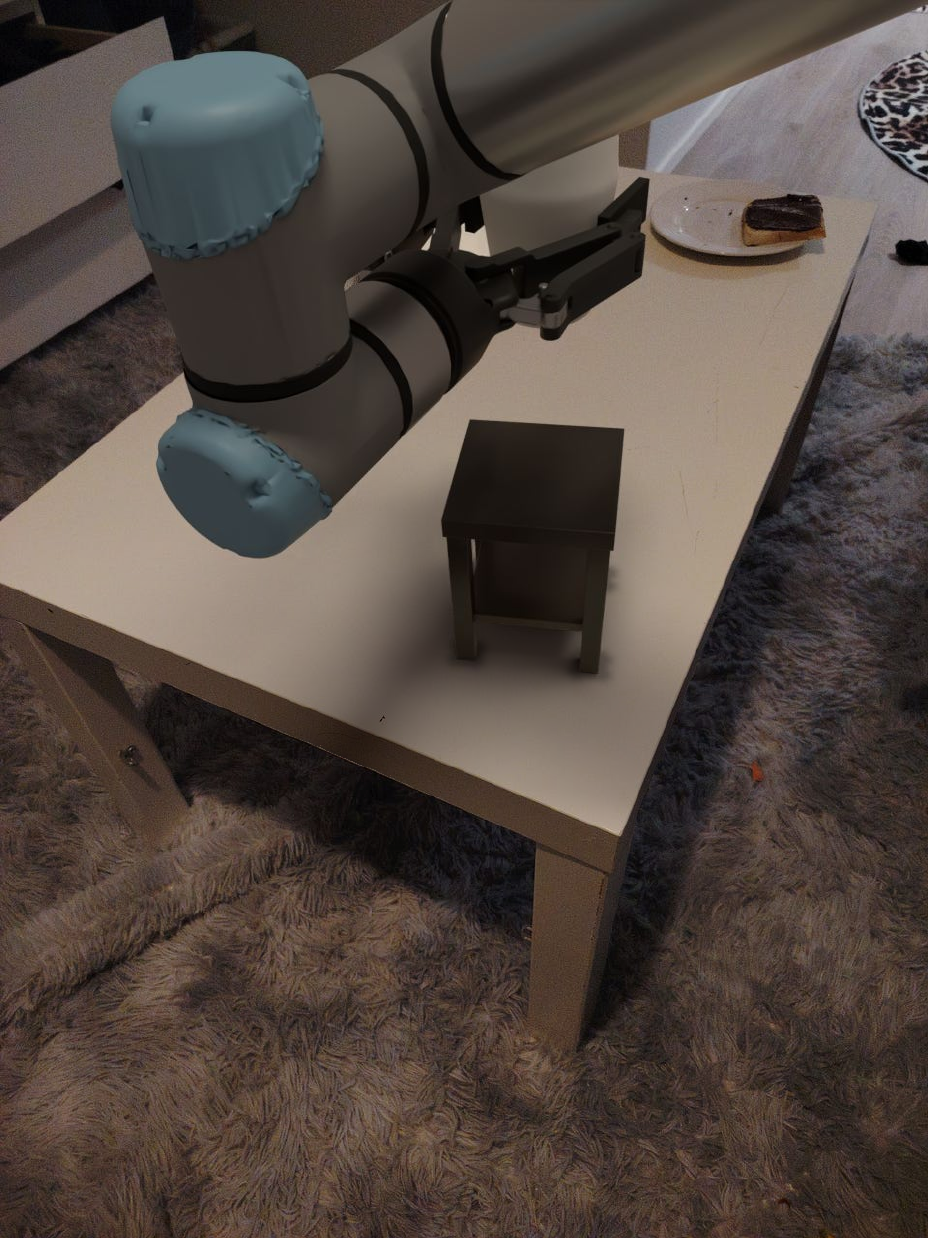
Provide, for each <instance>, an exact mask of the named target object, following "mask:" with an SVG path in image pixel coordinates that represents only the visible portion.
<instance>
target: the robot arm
mask: <svg viewBox="0 0 928 1238" xmlns="http://www.w3.org/2000/svg"><path fill="white" fill-rule="evenodd" d="M924 6H928V0H449V1H447V2H445V3H443V4H441V5H440V6H438V7H437V8H435V9H434V10H431V12H429V13H427V14H426V15H424V16H422V18H419V19H418V20H417V21H415V22H414V23H412V24H411V25H409V26H408V27H406V28H405V29H403V30H402V31H400V32H398V33H397V34H396V35H394V36H392V37H391V38H388V39H387V40H385V41H384V42H381V43H380V44H378V45H377V46H375V47H373V48H370V49H369V50H367V51H366V52H363V53H361V54H359V55H358V56H356V57H354V58H352V59H350V60H348V61H347V62H345V63H343V64H340V65H339V66H337V67H335V68H334V69H331V70H328V71H325V72H322V73H321V74H318V75H316V76H314V77H311V78H309V79H307V78H306V76H305V75H304V73H303V72H302V70H301V69H300V68H299V67H298V66H296V65H295V64H293V63H292V61H290V60H288V59H286V58H284V57H280V56H277V55H274V54H270V53H263V52H259V51H249V50H248V51H247V50H234V51H233V50H232V51H231V50H230V51H229V50H228V51H227V50H225V51H215V52H205V53H200V54H195V55H193V56H192V57H190V58H186V59H180V60H179V59H178V60H169V61H165V62H162V63H161V62H160V63H158V64H156V65H153V66H151V67H149V68H146V69H144V70H142V71H140V72H139V73H138V74H136V75H135V76H133V77H131V78H129V79H128V80H127V81H126V82H125V83H124V84H123V85H122V86H121V88H120V89H119V90H118V91H117V93H116V95H115V96H114V98H113V101H112V104H111V109H110V115H109V116H110V117H109V120H110V130H111V133H112V138H113V142H114V143H113V144H114V148H115V151H116V156H117V158H116V162H117V165H118V168H119V172H120V175H121V180H122V184H123V189H124V191H125V196H126V199H127V204H128V209H129V214H130V219H131V224H132V226H133V228H134V230H135V232H136V234H137V237H138V239H139V240H140V241H141V243H142V246H143V249H144V252H145V255H146V257H147V259H148V263H149V265H150V268H151V270H152V271H151V272H152V273H153V277H154V279H155V282H156V285H157V288H158V291H159V293H160V297H161V299H162V301H163V304H164V307H165V311H166V313H167V316H168V318H169V321H170V325H171V328H172V330H173V333H174V335H175V338H176V341H177V344H178V347H179V350H180V359H181V363H182V372H183V378H184V380H185V384H186V387H187V390H188V393H189V395H190V399H191V401H192V406H191V407H190V408H189V409H186V410H184V411H182V412H181V413H180V414H177V416H176V420H175V422H174V423H173V424H172V425H171V426H169V427H168V428H167V429H166V430H165V431H164V432H163V433H162V435H161V437H160V438H159V440H158V443H157V457H156V461H155V466H156V472H157V476H158V479H159V481H160V483H161V485H162V488H163V489H164V492H165V495H167V497H168V499H169V500H170V502H171V503H172V505H173V506H174V508H175V509H176V510H177V512H178V513H179V514H180V516H181V517H182V518H183V519H184V520H185V521H186V522H187V523H188V524H189V525H190V526H191V528H193V529H194V530H195V531H196V532H197V533H198V534H199V535H201V536H202V537H203V538H205V539H206V540H208V541H209V542H211V543H212V544H213V545H215V546H217V547H219V548H220V549H222V550H228V551H230V552H231V553H234V554H236V555H238V556H239V557H242V558H247V559H249V558H250V559H256V560H257V559H259V560H260V559H261V560H262V559H268V558H269V559H270V558H272V557H275V556H277V555H279V554H281V553H282V552H285V551H286V550H287V549H288V548H289V547H290V546H292V545H293V544H294V543H295V542H297V540H299V539H300V538H301V537H302V536H303V535H305V534H306V533H307V532H308V531H310V530H311V529H313V528H314V527H315V526H316V525H317V524H318V523H319V522H321V521H324V520H325V519H326V520H327V518H329V516H330V515H331V514H332V513H333V509H334V507H336V506H337V505H338V504H339V502H340V501H341V500H342V499H343V498H344V497H345V496H346V495H347V494H348V493H350V491H351V490H352V489H353V488H354V487H355V486H356V485H357V484H358V483H359V482H360V481H361V480H362V479H363V478H364V477H365V476H367V474H368V473H369V472H370V471H371V470H372V469H373V468H374V467H375V466H376V465H377V464H378V463H379V462H380V461H381V459H383V457H385V456H386V455H387V454H388V453H389V452H390V451H391V449H393V448H394V447H395V446H396V444H397V443H398V442H399V441H400V440H402V438H403V437H404V436H406V435H407V434H408V433H409V432H410V430H412V429H413V428H414V427H415V426H416V425H417V424H418V423H419V422H420V421H421V419H423V418H424V417H425V416H426V415H427V414H428V413H429V412H430V411H431V410H432V409H433V408H434V407H435V406H436V405H437V404H438V403H439V402H440V400H442V398H443V396H445V395H447V394H448V393H449V392H450V391H451V390H452V389H453V388H454V387H455V386H457V384H459V382H461V381H462V380H463V379H464V378H465V377H466V376H467V375H468V374H469V372H470V371H472V370H473V369H474V367H476V366H477V365H478V363H480V361H481V359H482V358H483V356H484V355H485V353H486V352H487V349H488V348H489V346H490V343H491V342H492V340H493V338H494V337H495V336H496V335H498V334H500V333H502V332H506V331H508V330H511V329H512V328H514V327H515V326H516V325H517V324H516V323H517V322H520V323H526V324H532V325H538V326H540V328H539V337H540V339H542V340H543V341H546V342H553V341H557V340H559V339H560V338H562V335H564V333H565V331H566V330H567V328H568V327H569V326H570V325H571V324H570V322H572V321H573V320H575V319H577V318H578V317H580V316H581V315H583V314H584V313H586V312H587V311H589V310H590V311H591V310H592V309H594V308H596V307H597V306H599V305H600V304H602V303H603V302H604V301H607V300H608V299H609V298H611V297H612V296H614V295H616V294H617V293H619V292H620V291H622V290H623V289H625V288H626V287H628V286H629V285H631V284H633V283H634V282H636V281H637V280H639V279H640V278H642V277H643V270H644V269H643V268H644V261H645V250H646V238H647V236H646V233H644V232H642V225H643V224H644V222H645V221H646V220H647V211H648V202H649V192H650V191H649V190H650V181H651V179H650V178H648V177H643V176H638V177H637V178H636V179H635V180H634V181H633V182H632V183H631V184H629V186H628V187H627V188H625V190H624V191H622V192H621V193H620V194H619V195H618V196H617V197H616V198H614V201H613V202H612V203H611V204H610V205H609V206H608V207H607V208H606V209H605V210H604V211H603V212H601V213H600V214H599V215H598V219H597V227H594V228H592V229H589V230H586V231H583V232H580V233H578V234H575V235H572V236H569V237H567V238H564V239H561V240H558V241H555V242H553V243H550V244H547V245H544V246H541V247H539V248H536V249H533V250H530V251H526V250H524V249H522V248H521V247H515V248H512V249H510V250H507V251H504V252H501V253H498V254H495V255H493V256H483V255H482V256H479V255H477V254H474V253H472V252H469V251H464V250H460V249H459V246H460V239H461V233H462V230H461V225H462V224H464V223H465V232H469V233H474V234H475V233H476V232H477V231H478V230H480V229H481V228H482V227H483V226H484V225H485V224H484V218H483V212H482V207H481V201H480V195H481V194H484V193H486V192H488V191H491V190H493V189H495V188H498V187H500V186H502V185H505V184H507V183H509V182H511V181H513V180H516V179H518V178H520V177H522V176H524V175H525V174H527V173H529V172H531V171H533V170H535V169H537V168H540V167H542V166H544V165H547V164H549V163H551V162H554V161H556V160H559V159H561V158H563V157H566V156H568V155H571V154H573V153H575V152H578V151H580V150H582V149H585V148H587V147H590V146H592V145H594V144H597V143H599V142H601V141H604V140H606V139H609V138H611V137H613V136H616V135H618V134H619V135H620V134H622V133H623V134H624V133H625V132H627V131H631V130H632V129H635V128H637V127H639V126H642V125H644V124H647V123H648V122H651V121H654V120H656V119H658V118H661V117H663V116H666V115H668V114H670V113H673V112H676V111H677V110H681V109H682V108H685V107H687V106H690V105H692V104H694V103H696V102H699V101H701V100H704V99H706V98H709V97H711V96H713V95H715V94H716V95H717V94H718V93H720V92H722V91H726V90H728V89H730V88H733V87H734V86H737V85H740V84H743V83H744V82H746V81H749V80H751V79H754V78H756V77H758V76H760V75H763V74H766V73H768V72H770V71H773V70H775V69H778V68H780V67H782V66H785V65H787V64H789V63H792V62H794V61H796V60H799V59H802V58H803V57H806V56H809V55H811V54H813V53H815V52H818V51H821V50H823V49H825V48H828V47H830V46H832V45H834V44H837V43H839V42H841V41H844V40H846V39H849V38H851V37H854V36H855V35H859V34H861V33H863V32H866V31H868V30H870V29H872V28H875V27H877V26H879V25H882V24H885V23H887V22H890V21H892V20H894V19H896V18H898V17H901V16H903V15H904V16H905V15H906V14H909V13H911V12H913V11H916V10H918V9H920V8H923V7H924ZM434 228H435V232H434ZM431 235H432V236H431ZM430 237H431V242H430V247H429V249H428V251H427V250H422V248H423V246H424V245H425V243H426V242H427V241H428V239H429V238H430ZM511 269H513V274H512V271H511ZM356 275H358V279H359V281H358V282H357V283H356V284H354V285H350V286H349V287H348V288H346V289H345V287H346V283H347V281H349V280H350V279H352V278H353V277H355V276H356Z"/></svg>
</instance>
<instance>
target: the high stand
mask: <svg viewBox="0 0 928 1238" xmlns="http://www.w3.org/2000/svg"><path fill="white" fill-rule="evenodd" d="M624 440H625V428H622V427H621V428H620V427H606V426H592V425H591V426H589V425H575V424H557V423H556V424H555V423H542V422H541V423H540V422H539V423H538V422H521V421H507V420H489V419H472V418H469V419H468V423H467V427H466V430H465V434H464V438H463V441H462V445H461V447H460V451H459V455H458V458H457V462H456V466H455V469H454V472H453V476H452V479H451V484H450V487H449V490H448V494H447V498H446V501H445V504H444V508H443V511H442V514H441V518H440V526H441V536H442V538H445V540H446V551H447V553H446V554H447V562H448V564H447V565H448V575H449V586H450V598H451V608H452V621H453V632H454V643H455V656H456V660H465V661H467V660H468V661H475V660H476V656H477V652H478V647H479V646H478V645H479V644H478V628H477V622H478V623H487V624H496V625H497V624H498V625H508V626H509V625H510V626H520V627H529V628H540V629H551V630H561V631H570V632H571V631H573V632H580V633H581V640H580V641H581V642H580V655H579V667H578V669H579V672H583V673H592V674H598V673H599V671H600V660H601V650H602V639H603V630H604V621H605V620H604V618H605V610H606V601H607V600H606V599H607V590H608V581H609V570H610V558H611V552H613V551H614V550H615V541H616V532H617V519H618V509H619V498H620V497H619V496H620V485H621V473H622V462H623V454H624V453H623V452H624ZM472 541H474V553H475V554H474V555H475V567H474V561H473V560H474V559H473V542H472Z"/></svg>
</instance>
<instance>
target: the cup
mask: <svg viewBox="0 0 928 1238" xmlns="http://www.w3.org/2000/svg"><path fill="white" fill-rule="evenodd" d="M619 139H620V134H618V135H616V136H613V137H611V138H609V139H606V140H604V141H601V142H599V143H597V144H594V145H592V146H590V147H587V148H585V149H582V150H580V151H578V152H575V153H573V154H571V155H568V156H566V157H563V158H561V159H559V160H556V161H554V162H551V163H549V164H547V165H544V166H542V167H540V168H537V169H535V170H533V171H531V172H529V173H527V174H525V175H524V176H522V177H520V178H518V179H516V180H513V181H511V182H509V183H507V184H505V185H502V186H500V187H498V188H495V189H493V190H491V191H488V192H486V193H484V194H481V195H480V201H481V207H482V212H483V218H484V224H485V230H486V235H487V241H488V247H489V253H490V256H493V255H495V254H498V253H501V252H504V251H507V250H510V249H512V248H515V247H521V248H522V249H524V250H526V251H530V250H533V249H536V248H539V247H541V246H544V245H547V244H550V243H553V242H555V241H558V240H561V239H564V238H567V237H569V236H572V235H575V234H578V233H580V232H583V231H586V230H589V229H592V228H594V227H597V219H598V215H599V214H600V213H601V212H603V211H604V210H605V209H606V208H607V207H608V206H609V205H610V204H611V203H612V202H613V201H614V200H615V196H616V191H617V187H618V181H619V174H620V165H619V164H620V162H619V150H620V149H619V148H620V147H619V144H620V143H619ZM511 271H512V274H513V269H511ZM590 312H591V310H589V311H587V312H586V313H584V314H583V315H581V316H580V317H578V318H577V319H575V320H573V321H572V322H570V324H569V325H572V324H574V323H577V322H578V321H580V320H582V319H584V318H585V317H586V316H587V315H588V314H589V313H590ZM515 325H519V326H523V327H526V328H532V329H540V326H538V325H532V324H526V323H520V322H517V323H516V324H515Z"/></svg>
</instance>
